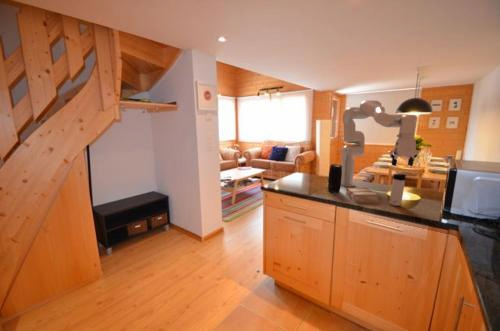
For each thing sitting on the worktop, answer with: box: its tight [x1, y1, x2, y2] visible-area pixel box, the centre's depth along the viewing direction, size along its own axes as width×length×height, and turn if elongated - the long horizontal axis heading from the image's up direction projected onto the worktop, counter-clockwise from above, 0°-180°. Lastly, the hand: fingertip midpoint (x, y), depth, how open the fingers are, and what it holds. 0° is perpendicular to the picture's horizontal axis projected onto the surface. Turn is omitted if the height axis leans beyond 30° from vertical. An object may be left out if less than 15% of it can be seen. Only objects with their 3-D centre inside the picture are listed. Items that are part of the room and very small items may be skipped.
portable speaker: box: [327, 163, 342, 194], centre depth 162 cm, size 9×9×20 cm
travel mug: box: [388, 173, 407, 207], centre depth 138 cm, size 6×7×20 cm
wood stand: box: [345, 187, 379, 203], centre depth 150 cm, size 14×14×5 cm
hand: (402, 165), depth 134 cm, fingers open, 9 cm apart
